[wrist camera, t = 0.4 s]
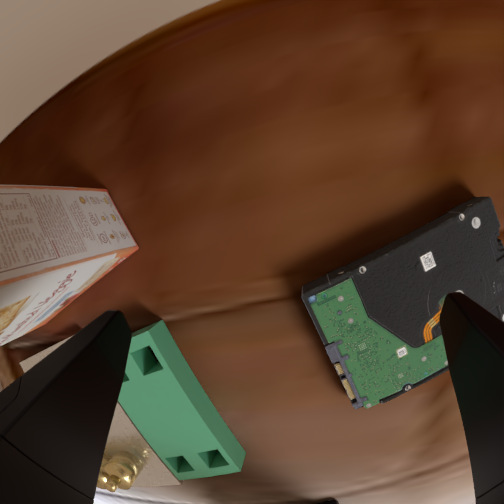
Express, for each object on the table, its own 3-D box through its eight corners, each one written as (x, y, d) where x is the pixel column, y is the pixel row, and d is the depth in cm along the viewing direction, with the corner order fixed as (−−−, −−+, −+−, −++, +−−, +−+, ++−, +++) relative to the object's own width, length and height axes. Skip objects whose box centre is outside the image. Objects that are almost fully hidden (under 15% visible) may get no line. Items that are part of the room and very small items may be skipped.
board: (246, 452, 24) (240, 471, 21) (187, 463, 25) (179, 480, 23) (162, 319, 23) (147, 330, 21) (106, 344, 25) (90, 355, 22)
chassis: (184, 478, 26) (165, 514, 20) (109, 482, 28) (89, 509, 23) (83, 329, 25) (44, 351, 20) (24, 359, 27) (-8, 377, 22)
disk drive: (470, 193, 19) (297, 286, 22) (489, 192, 16) (297, 296, 19) (505, 311, 19) (353, 398, 22) (523, 321, 17) (357, 418, 20)
